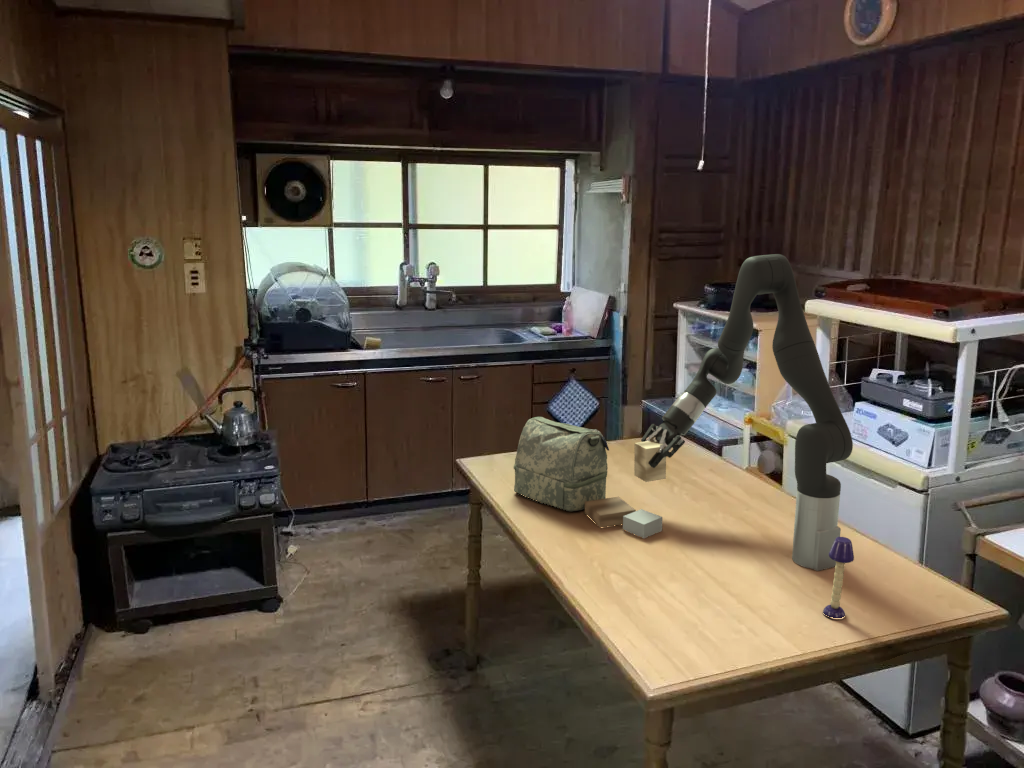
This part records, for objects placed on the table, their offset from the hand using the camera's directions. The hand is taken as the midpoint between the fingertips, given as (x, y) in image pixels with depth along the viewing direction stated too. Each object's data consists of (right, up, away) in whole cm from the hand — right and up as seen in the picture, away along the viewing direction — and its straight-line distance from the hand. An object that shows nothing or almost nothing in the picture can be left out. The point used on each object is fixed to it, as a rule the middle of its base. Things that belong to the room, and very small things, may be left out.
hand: (644, 462), depth 210 cm
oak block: (+2, -4, +2) cm, 5 cm away
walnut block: (-9, -15, +1) cm, 18 cm away
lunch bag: (-21, -12, +17) cm, 29 cm away
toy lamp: (+31, -26, -49) cm, 63 cm away
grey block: (-2, -17, -6) cm, 18 cm away
